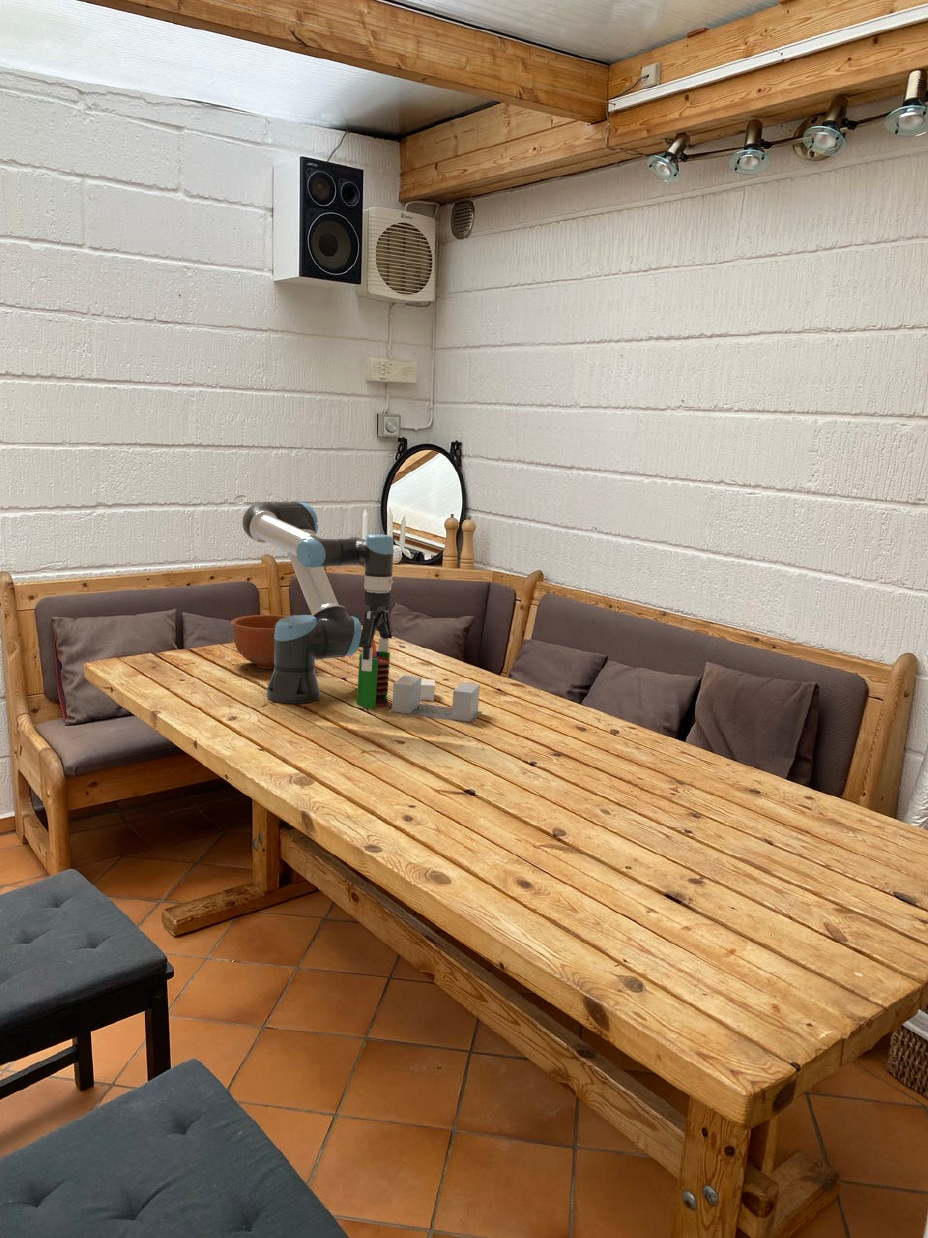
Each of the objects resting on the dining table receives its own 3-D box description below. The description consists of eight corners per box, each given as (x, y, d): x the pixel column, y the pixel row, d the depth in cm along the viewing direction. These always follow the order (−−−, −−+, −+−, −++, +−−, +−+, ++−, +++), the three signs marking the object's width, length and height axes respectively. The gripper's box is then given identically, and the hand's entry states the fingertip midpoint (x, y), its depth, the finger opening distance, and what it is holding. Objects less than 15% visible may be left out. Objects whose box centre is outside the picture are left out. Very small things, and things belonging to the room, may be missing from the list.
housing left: (392, 711, 263) (393, 683, 261) (403, 702, 272) (404, 675, 271) (409, 713, 262) (411, 685, 260) (420, 704, 271) (421, 677, 270)
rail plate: (387, 717, 262) (387, 711, 262) (400, 706, 274) (400, 701, 274) (471, 728, 257) (472, 723, 256) (481, 716, 268) (482, 711, 268)
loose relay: (416, 704, 277) (417, 684, 276) (417, 698, 284) (418, 678, 283) (433, 705, 277) (434, 685, 276) (434, 699, 284) (435, 679, 283)
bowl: (301, 677, 299) (302, 630, 296) (221, 672, 299) (222, 625, 296) (314, 660, 323) (315, 616, 320) (240, 655, 323) (241, 611, 320)
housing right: (451, 719, 259) (453, 690, 257) (460, 709, 268) (462, 682, 267) (469, 721, 258) (471, 692, 256) (478, 712, 267) (479, 684, 266)
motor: (386, 714, 265) (389, 644, 261) (354, 712, 265) (357, 642, 261) (389, 704, 275) (393, 636, 271) (358, 702, 275) (361, 634, 271)
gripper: (375, 598, 251) (372, 676, 254) (404, 586, 274) (401, 658, 278) (348, 595, 252) (346, 673, 256) (379, 584, 276) (377, 655, 280)
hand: (374, 665), depth 267 cm, fingers open, 13 cm apart
